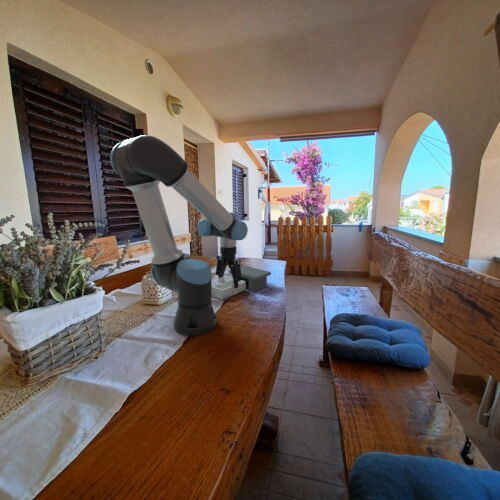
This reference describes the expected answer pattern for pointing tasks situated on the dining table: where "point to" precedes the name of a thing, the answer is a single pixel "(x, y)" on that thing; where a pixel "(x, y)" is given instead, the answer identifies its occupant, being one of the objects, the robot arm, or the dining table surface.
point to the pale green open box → (226, 289)
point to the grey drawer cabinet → (254, 277)
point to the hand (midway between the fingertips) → (228, 291)
